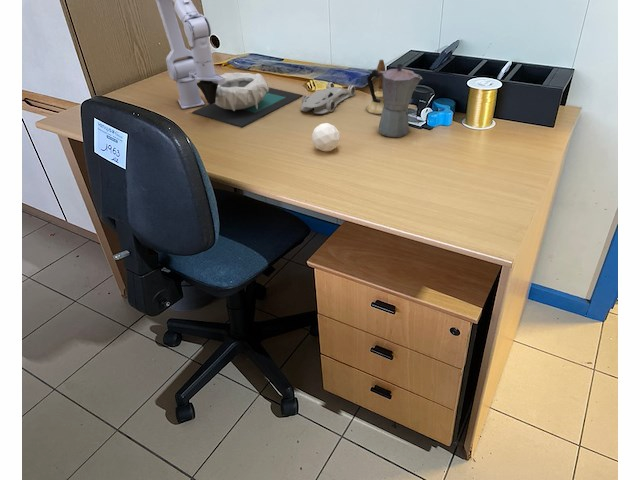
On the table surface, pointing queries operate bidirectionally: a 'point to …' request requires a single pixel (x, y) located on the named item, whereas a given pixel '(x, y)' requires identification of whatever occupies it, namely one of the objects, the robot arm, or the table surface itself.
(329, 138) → the ball
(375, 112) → the hand bell
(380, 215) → the table surface
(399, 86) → the moka pot
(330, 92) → the car model
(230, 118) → the mat
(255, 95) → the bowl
